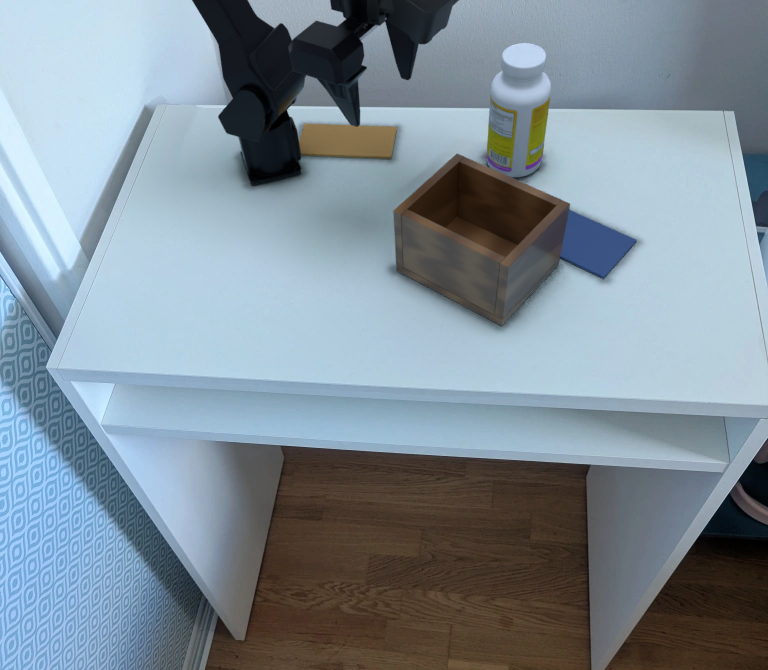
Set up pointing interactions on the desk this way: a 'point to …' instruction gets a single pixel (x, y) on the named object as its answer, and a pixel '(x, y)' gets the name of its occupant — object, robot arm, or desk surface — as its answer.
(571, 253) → the blue cloth
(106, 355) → the desk surface
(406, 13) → the robot arm
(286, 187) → the desk surface
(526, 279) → the crate
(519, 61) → the supplement bottle
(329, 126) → the tan cloth
